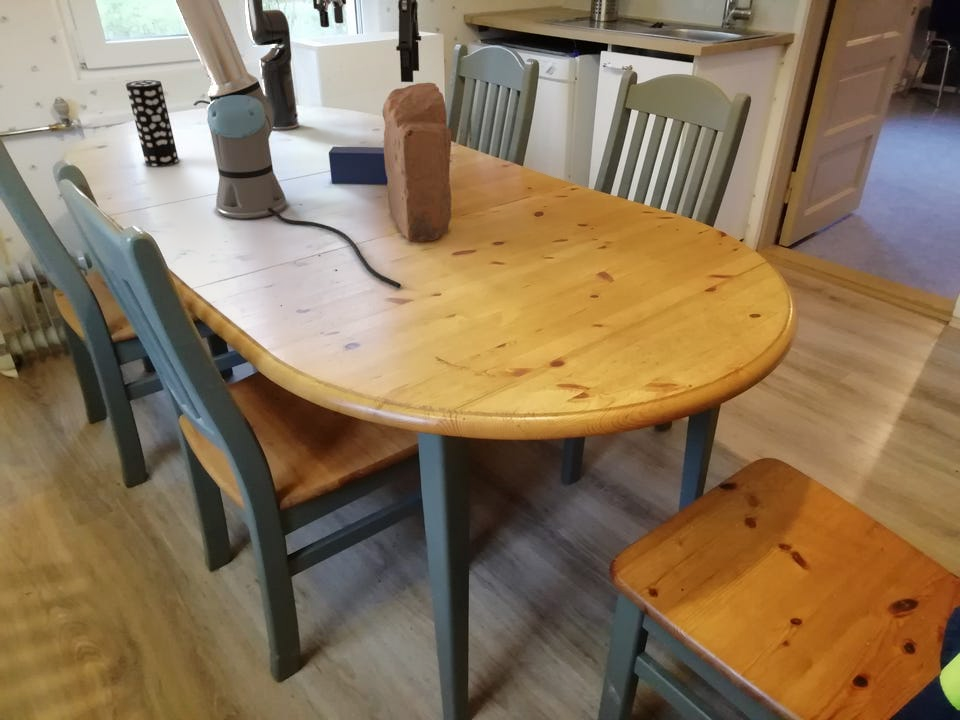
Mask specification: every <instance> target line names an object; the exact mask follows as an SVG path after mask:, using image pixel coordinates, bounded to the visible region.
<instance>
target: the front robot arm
mask: <svg viewBox="0 0 960 720" xmlns="http://www.w3.org/2000/svg"><path fill="white" fill-rule="evenodd" d="M173 1H174V3H175V6H176V8H177V10H178V13H179V14H180V17H181V19H182V22H183V24H184V26H185V28H186V30H187V33H188V35H189V37H190V40H191V42H192V44H193V46H194V49H195V51H196V53H197V56H198V58H199V60H200V63H201V65H202V67H203V70H204V72H205V74H206V76H207V78H208V81H209V83H210V88H209V91H208V92H207V95H208V98H209V100H210V102H211V103H210V104H208V106H207V109H206V111H207V112H206V113H207V118H206V119H207V124H208V127H209V131H210V136H211V142H212V147H213V151H214V156H215V160H216V167H217V169H218V170H217V172H218V185H217V193H216V201H215V203H216V204H215V206H216V210H217V213H218V214H219V215H221V216H223V217H225V218H229V219H236V220H253V219H260V218H261V219H262V218H265V217H266V218H267V217H270V216H275V217H276V218H277V219H278V220H279V221H281V222H283V223H287V224H292V225H301V226H312V227H316V228H319V229H323V230H327V231H330V232H332V233H335V234H336V235H338V236H339V237H341V238H342V239H344V241H346V242H347V243H348V244H349V245H350V246H351V247H352V249H353V251H354V252H355V254H356V256H357V257H358V259H359V260H360V262H361V263H362V265H363V266H364V267H365V269H366V271H368V272H369V273H370V274H371V275H372V276H374V277H376V278H377V279H378V280H381V281H383V282H385V283H387V284H389V285H392V286H394V287H395V288H398V289H400V288H401V287H402V284H401V283H400V282H398V281H395V280H393V279H391V278H389V277H386V276H385V275H382V274H381V273H379V272H378V271H376V270H375V269H374V268H372V267H371V265H370V264H369V263H368V262H367V260H366V259H365V258H364V256H363V254H362V253H361V251H360V249H359V248H358V246H357V245H356V243H355V242H354V241H353V240H352V239H351V238H350V237H349V236H348V235H347V234H345V233H344V232H343V231H341V230H339V229H337V228H335V227H332V226H330V225H326V224H323V223H319V222H316V221H315V222H314V221H309V220H297V219H289V218H286V217H283V216H282V215H281V214H280V212H282V211H283V210H285V209H286V207H287V199H286V194H285V193H284V191H283V189H282V187H281V184H280V182H279V180H278V179H277V177H276V175H275V172H274V167H273V160H272V154H271V147H270V136H271V134H272V132H273V130H274V129H273V127H274V120H275V118H274V111H273V108H272V105H271V103H270V102H269V100H268V99H267V98H266V96H265V95H264V91H263V88H262V86H261V83H260V81H259V79H258V78H257V77H256V76H254V75H252V74H250V73H249V72H248V69H247V67H246V64H245V62H244V60H243V57H242V55H241V53H240V51H239V47H238V44H237V43H236V40H235V37H234V35H233V33H232V31H231V28H230V25H229V23H228V20H227V18H226V16H225V13H224V11H223V8H222V6H221V4H220V1H219V0H173ZM397 4H398V5H397V8H398V44H397V45H396V46H395V49H396V51H398V52H399V63H400V64H399V65H400V82H401V83H414V72H419V71H420V55H419V54H420V53H419V52H420V51H419V50H420V49H419V42H421V41H422V35H420V31H419V21H418V19H419V18H418V16H419V15H418V7H419V4H418V1H417V0H398V3H397Z"/></svg>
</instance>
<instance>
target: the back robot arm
mask: <svg viewBox="0 0 960 720" xmlns="http://www.w3.org/2000/svg"><path fill="white" fill-rule="evenodd" d="M331 3H332V6H333V14H334V22H335V24H344V12H343V8H344V5H347V0H312V4H313V5H312V6H313V9H314V10H317V12H318V14H319V15H318V16H319V24H320V25H319V26H320V27H321V28H329V27H330V19H329V5H330V4H331ZM244 4H245V5H244V6H245V16H246V17H245V18H246V25H247V30H248V34H249V37H250V39H251V41H252V42H253V44H254V45H256V46H258V47H264V46H265V47H266V46H271V48H270V50H269V51H268V52H267V53H266V54H265V55H263V56H262V57H261V58H260V59H259V61H258V64H259V71H260V77H261V83H262V91H263V94H264V95H265V96H266V98H267V99H268V100H269V102H270V103H271V105H272V108H273V111H274V118H275V120H274V127H273V129H272V130H276V131H277V130H278V131H283V130H284V131H286V130H293V129H296V128H298V127H300V123H299V118H298V117H299V112H298V110H297V102H296V95H295V86H294V78H293V72H292V71H293V69H292V47H291V45H292V44H291V33H290V26H289V25H290V24H289V21H288V18H287V17H286V14H285V13H284V12H283V11H282V10H281V9H266V10H265V9H264V7H263V5H264V4H263V0H244ZM210 103H211V101H208V100H205V99H204V100H203V99H198V100H196V101H194V103H193V106H197V105H198V104H205V105H206V104H207V105H209V104H210Z"/></svg>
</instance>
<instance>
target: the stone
mask: <svg viewBox="0 0 960 720" xmlns="http://www.w3.org/2000/svg"><path fill="white" fill-rule="evenodd" d="M381 110H382V111H381V112H382V119H383V121H384V131H383V147H384V158H385V169H386V175H387V179H388V183H387V185H386V194H387V195H386V196H387V202H388V208H389V211H390V214H391V215H392V218H393V220H394V221H395V223H396V225H397V226H398V229H399V231H400V233H402V235H403V236H404V237H405V239H406V240H407V241H408V242H410V243H421V242H424V241H435V240H436V239H439V238H440V237H441V236H442V235H443V234H445V233H447V232H448V231H449V225H450V222H451V219H452V192H451V185H450V168H451V166H450V164H451V154H452V153H451V152H452V129H451V128H449V125H448V124H447V107H446V102H445V98H444V95H443V93H442V92H441V91H440V87H438V86H437V84H436V83H433V82H420V83H415V84H412V85H408V86H406V87H401V88H395V89H393V90H392V91H391V92H389V94H388V96H387V97H386V99H385V101H384V103H383V107H382V109H381Z"/></svg>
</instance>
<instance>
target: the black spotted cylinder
mask: <svg viewBox="0 0 960 720" xmlns="http://www.w3.org/2000/svg"><path fill="white" fill-rule="evenodd" d="M125 87H126V91H127V95H128V99H129V103H130V107H131V110H132V115H133V118H134V122H135V123H134V124H135V127H136V130H137V134H138V139H139V143H140V146H141V150H142V155H143V158H144V163H145V164H146V165H147V166H151V167H164V166H170V165H174V164H176V163H178V162H179V155H178V150H177V146H176V142H175V137H174V133H173V128H172V125H171V121H170V116H169V111H168V107H167V103H166V98H165V93H164V89H163V84H162V81H161V80H155V79H154V80H153V79H151V80H150V79H145V80H144V79H141V80H134V81H130V82H129V81H128V82H127V83H126V84H125Z"/></svg>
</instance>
